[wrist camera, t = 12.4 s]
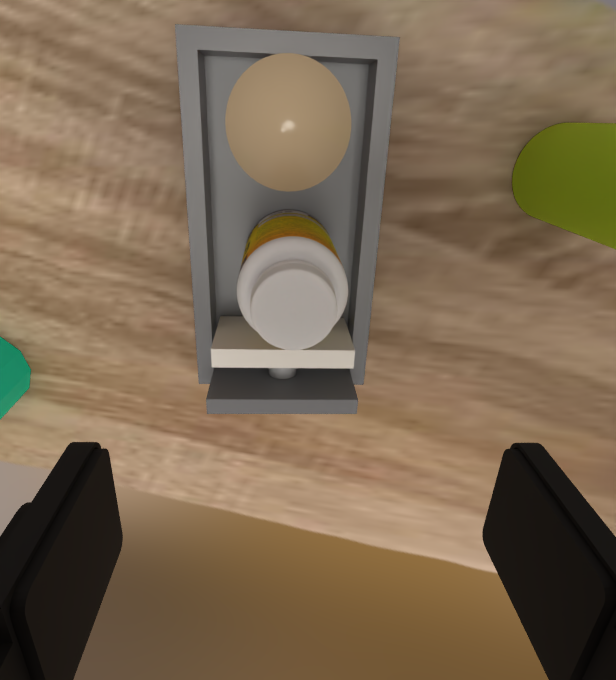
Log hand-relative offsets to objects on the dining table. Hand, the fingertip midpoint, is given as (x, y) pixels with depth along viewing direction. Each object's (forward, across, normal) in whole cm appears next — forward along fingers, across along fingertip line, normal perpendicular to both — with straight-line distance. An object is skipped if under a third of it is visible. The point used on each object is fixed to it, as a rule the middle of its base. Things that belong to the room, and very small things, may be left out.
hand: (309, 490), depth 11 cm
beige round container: (+21, 0, -8) cm, 23 cm away
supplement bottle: (+22, 0, 0) cm, 22 cm away
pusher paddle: (+21, 0, +5) cm, 22 cm away
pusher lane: (+22, 0, -2) cm, 22 cm away
